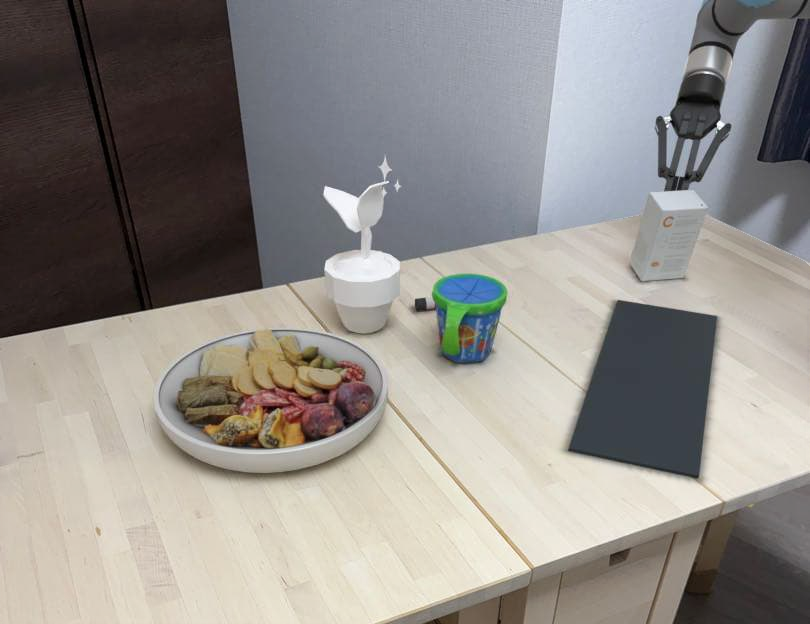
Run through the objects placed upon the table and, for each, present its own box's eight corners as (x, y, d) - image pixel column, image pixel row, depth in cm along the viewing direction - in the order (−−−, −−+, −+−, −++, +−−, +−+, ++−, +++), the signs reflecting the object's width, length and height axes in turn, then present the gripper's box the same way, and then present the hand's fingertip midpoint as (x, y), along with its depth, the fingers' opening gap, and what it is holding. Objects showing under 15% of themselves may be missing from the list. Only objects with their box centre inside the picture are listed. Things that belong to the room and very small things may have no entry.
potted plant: (416, 325, 118) (419, 155, 101) (362, 351, 112) (356, 175, 95) (362, 299, 124) (356, 135, 107) (308, 322, 118) (293, 152, 101)
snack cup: (456, 322, 119) (460, 260, 112) (517, 338, 115) (525, 275, 108) (410, 367, 109) (411, 301, 102) (475, 386, 105) (481, 319, 98)
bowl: (113, 452, 93) (95, 398, 88) (237, 342, 114) (229, 293, 108) (328, 511, 86) (324, 457, 80) (420, 382, 106) (422, 332, 100)
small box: (670, 259, 135) (694, 188, 125) (683, 279, 131) (709, 207, 121) (627, 262, 134) (648, 191, 124) (640, 282, 130) (663, 210, 120)
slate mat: (716, 318, 121) (717, 315, 120) (698, 478, 91) (699, 475, 90) (617, 302, 125) (617, 299, 124) (568, 451, 95) (568, 447, 94)
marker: (417, 313, 121) (417, 301, 120) (414, 307, 122) (414, 296, 121) (506, 303, 124) (507, 292, 122) (502, 298, 125) (503, 287, 124)
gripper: (738, 102, 132) (704, 231, 132) (662, 94, 135) (629, 221, 135) (747, 74, 124) (711, 211, 125) (666, 67, 127) (632, 201, 128)
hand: (669, 216), depth 130 cm, fingers closed
